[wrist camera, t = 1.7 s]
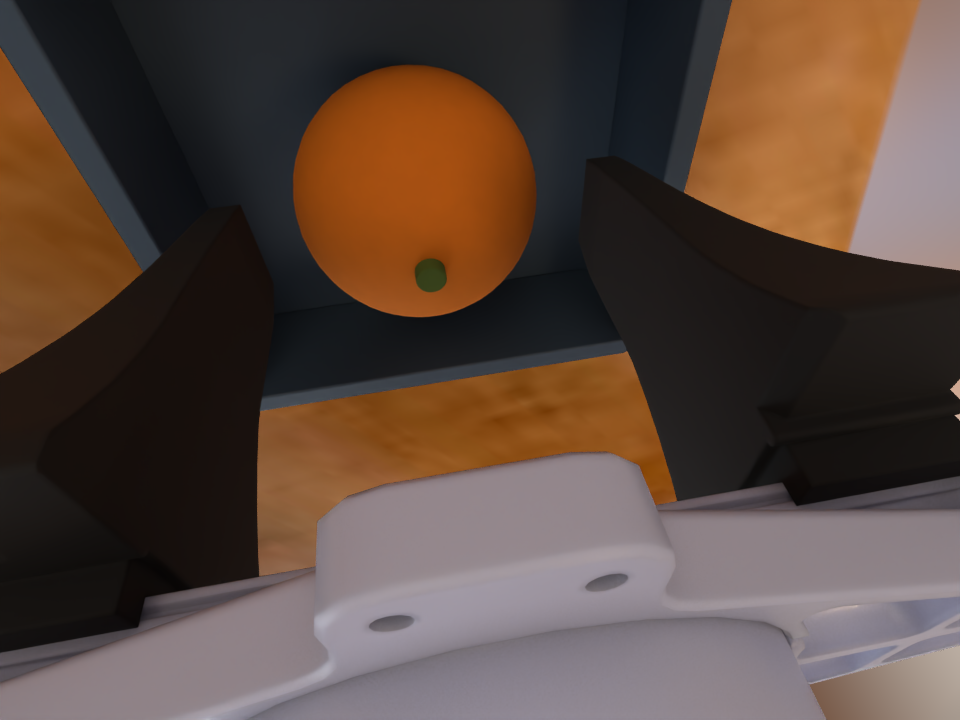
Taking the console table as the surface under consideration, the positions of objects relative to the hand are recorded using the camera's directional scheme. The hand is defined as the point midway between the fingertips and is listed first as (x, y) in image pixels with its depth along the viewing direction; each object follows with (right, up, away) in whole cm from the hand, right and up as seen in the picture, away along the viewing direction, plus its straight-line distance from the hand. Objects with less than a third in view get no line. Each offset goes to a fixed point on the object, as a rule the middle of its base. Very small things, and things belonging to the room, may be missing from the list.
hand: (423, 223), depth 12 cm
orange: (-1, +3, +3) cm, 4 cm away
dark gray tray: (-1, +3, +3) cm, 4 cm away
